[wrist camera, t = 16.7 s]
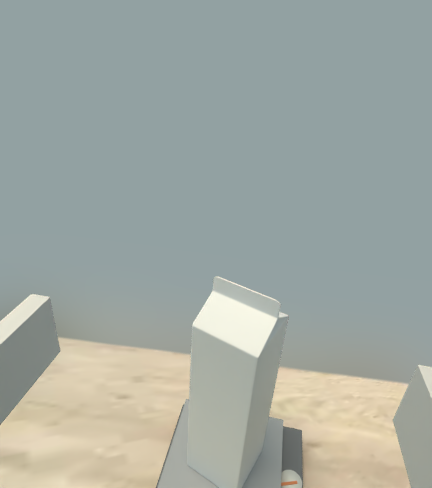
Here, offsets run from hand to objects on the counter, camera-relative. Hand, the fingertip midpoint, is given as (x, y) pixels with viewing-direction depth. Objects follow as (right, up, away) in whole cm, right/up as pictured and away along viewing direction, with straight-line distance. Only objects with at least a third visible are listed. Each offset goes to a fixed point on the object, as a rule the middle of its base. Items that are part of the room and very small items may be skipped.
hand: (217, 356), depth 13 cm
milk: (+1, -19, +25) cm, 31 cm away
